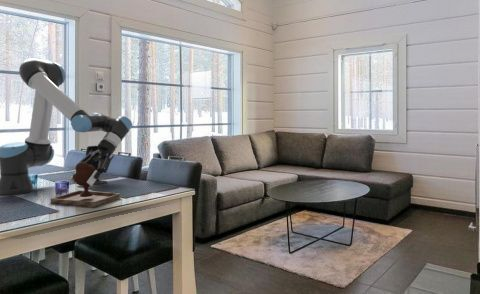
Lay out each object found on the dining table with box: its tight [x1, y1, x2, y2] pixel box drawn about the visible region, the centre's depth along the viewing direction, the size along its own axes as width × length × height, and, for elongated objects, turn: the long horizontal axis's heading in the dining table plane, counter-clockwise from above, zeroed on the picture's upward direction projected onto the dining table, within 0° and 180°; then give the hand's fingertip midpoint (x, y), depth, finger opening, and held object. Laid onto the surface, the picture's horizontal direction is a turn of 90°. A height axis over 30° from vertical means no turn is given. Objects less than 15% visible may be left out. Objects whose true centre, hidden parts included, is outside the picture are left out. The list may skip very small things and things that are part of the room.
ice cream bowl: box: [72, 161, 99, 197], centre depth 164 cm, size 11×11×15 cm
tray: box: [50, 189, 121, 209], centre depth 165 cm, size 22×18×2 cm
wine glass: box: [85, 145, 108, 186], centre depth 205 cm, size 10×10×20 cm
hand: (80, 182), depth 162 cm, fingers closed on ice cream bowl, 11 cm apart
